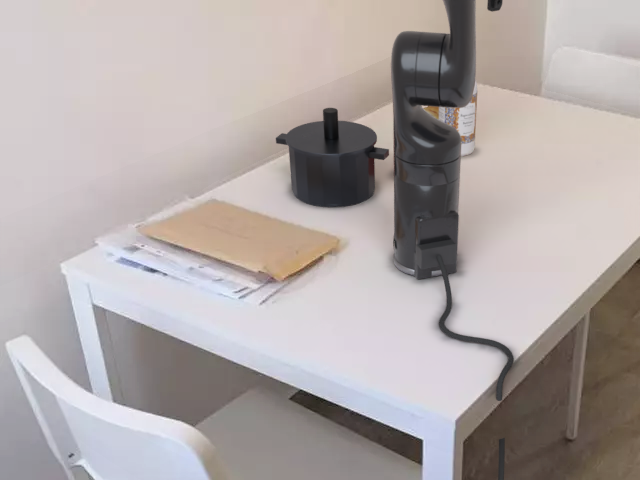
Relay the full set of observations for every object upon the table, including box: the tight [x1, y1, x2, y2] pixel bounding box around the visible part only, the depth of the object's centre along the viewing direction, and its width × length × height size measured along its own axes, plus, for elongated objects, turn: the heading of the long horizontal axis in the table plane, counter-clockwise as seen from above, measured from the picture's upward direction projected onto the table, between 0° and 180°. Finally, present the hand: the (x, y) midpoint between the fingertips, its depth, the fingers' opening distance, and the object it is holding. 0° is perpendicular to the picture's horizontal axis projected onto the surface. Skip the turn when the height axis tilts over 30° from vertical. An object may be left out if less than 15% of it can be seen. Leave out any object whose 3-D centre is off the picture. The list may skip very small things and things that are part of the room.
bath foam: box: [439, 78, 478, 157], centre depth 161 cm, size 7×7×20 cm
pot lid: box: [286, 107, 378, 157], centre depth 144 cm, size 15×15×6 cm
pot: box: [275, 132, 390, 208], centre depth 148 cm, size 14×19×9 cm
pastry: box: [422, 106, 439, 120], centre depth 177 cm, size 9×7×4 cm
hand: (476, 4), depth 138 cm, fingers open, 8 cm apart
